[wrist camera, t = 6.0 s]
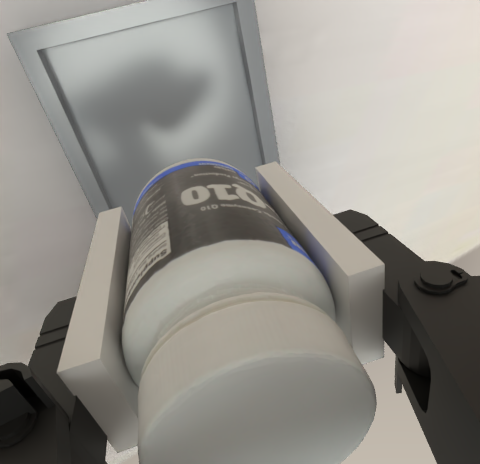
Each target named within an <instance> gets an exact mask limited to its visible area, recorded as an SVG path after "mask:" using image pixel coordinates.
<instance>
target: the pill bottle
mask: <svg viewBox="0 0 480 464" xmlns="http://www.w3.org/2000/svg"><path fill="white" fill-rule="evenodd" d="M335 321H336V314H335V305H334V300H333V297H332V293H331V291H330V288H329V286H328V284H327V282H326V280H325V278H324V276H323V275H322V273H321V271H320V270H319V269H318V267H317V266H316V265H315V264H314V262H313V261H312V260H311V258H310V257H309V256H308V254H307V253H306V252H305V250H304V249H303V247H302V246H301V245H300V244H299V243H298V241H297V240H296V239H295V237H294V236H293V235H292V233H291V232H290V231H289V230H288V228H287V227H286V225H285V224H284V223H283V221H282V220H281V219H280V217H279V216H278V214H277V213H276V212H275V210H274V209H273V208H272V206H271V205H270V204H269V203H268V201H267V200H266V198H265V197H264V196H263V194H262V193H261V191H260V190H259V189H258V187H257V186H256V185H255V184H254V183H253V181H252V180H251V179H250V178H248V177H247V176H246V175H245V174H244V173H243V172H241V171H240V170H238V169H237V168H235V167H233V166H232V165H229V164H227V163H225V162H222V161H218V160H214V159H207V158H196V159H189V160H185V161H181V162H178V163H175V164H173V165H170V166H168V167H166V168H164V169H163V170H161V171H160V172H159V173H157V174H156V175H155V176H154V177H153V178H152V179H151V180H150V181H149V182H148V183H147V184H146V186H145V187H144V188H143V190H142V191H141V193H140V195H139V197H138V199H137V201H136V204H135V208H134V212H133V218H132V230H131V240H130V249H129V263H128V274H127V284H126V295H125V305H124V316H123V324H122V349H123V354H124V359H125V363H126V366H127V368H128V371H129V373H130V375H131V377H132V379H133V380H134V382H135V383H136V385H137V386H138V387H139V391H138V456H139V464H340V463H341V462H342V461H344V460H345V459H346V458H347V457H348V456H349V455H350V454H351V453H352V452H353V451H354V450H355V449H356V448H357V447H358V446H359V444H360V443H361V442H362V440H363V439H364V437H365V435H366V434H367V432H368V430H369V428H370V426H371V424H372V422H373V419H374V416H375V411H376V394H375V389H374V386H373V384H372V381H371V380H370V378H369V376H368V374H367V372H366V371H365V369H364V367H363V365H362V364H361V362H360V361H359V359H358V357H357V356H356V354H355V352H354V351H353V349H352V347H351V346H350V344H349V342H348V340H347V338H346V336H345V334H344V332H343V331H342V330H341V328H340V327H339V326H338V325H337V324H336V323H335Z"/></svg>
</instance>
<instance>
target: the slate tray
mask: <svg viewBox="0 0 480 464" xmlns="http://www.w3.org/2000/svg"><path fill="white" fill-rule="evenodd" d="M7 36H8V38H9V40H10V42H11V44H12V46H13V48H14V50H15V52H16V54H17V56H18V58H19V60H20V62H21V64H22V66H23V68H24V70H25V72H26V75H27V77H28V79H29V81H30V83H31V85H32V87H33V89H34V91H35V93H36V95H37V97H38V99H39V101H40V103H41V105H42V107H43V109H44V111H45V113H46V116H47V118H48V120H49V122H50V124H51V126H52V128H53V130H54V132H55V134H56V136H57V138H58V140H59V142H60V144H61V146H62V148H63V150H64V152H65V155H66V157H67V159H68V161H69V163H70V165H71V167H72V169H73V171H74V173H75V175H76V177H77V179H78V181H79V183H80V185H81V187H82V189H83V191H84V193H85V196H86V198H87V200H88V202H89V204H90V206H91V208H92V210H93V212H94V214H95V216H96V218H97V219H98V215H99V213H100V212H104V211H107V210H111V209H114V208H117V207H121V206H122V208H123V211H124V213H125V215H126V218H127V220H128V222H129V224H130V227H131V229H132V218H133V212H134V208H135V204H136V201H137V199H138V197H139V195H140V193H141V191H142V190H143V188H144V187H145V186H146V184H147V183H148V182H149V181H150V180H151V179H152V178H153V177H154V176H155V175H156V174H157V173H159V172H160V171H161V170H163V169H164V168H166V167H168V166H170V165H173V164H175V163H178V162H181V161H185V160H189V159H196V158H207V159H214V160H218V161H222V162H225V163H227V164H229V165H232V166H233V167H235V168H237V169H238V170H240V171H241V172H243V173H244V174H245V175H246V176H247V177H248V178H250V179H251V180H252V181H253V183H254V184H255V185H256V186H257V187H258V189H259V184H258V179H257V174H256V169H255V167H258V166H261V165H265V164H268V163H272V162H275V161H276V162H277V163H278V164H279V165H280V161H279V154H278V148H277V142H276V135H275V129H274V123H273V116H272V110H271V104H270V97H269V91H268V85H267V79H266V72H265V66H264V60H263V53H262V47H261V41H260V34H259V28H258V22H257V15H256V9H255V3H254V0H146V1H142V2H138V3H134V4H129V5H125V6H121V7H117V8H112V9H108V10H104V11H100V12H96V13H91V14H87V15H83V16H79V17H74V18H70V19H66V20H62V21H58V22H53V23H49V24H45V25H41V26H36V27H32V28H28V29H24V30H20V31H15V32H11V33H7ZM259 190H260V189H259Z"/></svg>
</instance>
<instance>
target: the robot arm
mask: <svg viewBox="0 0 480 464" xmlns="http://www.w3.org/2000/svg"><path fill="white" fill-rule="evenodd" d="M255 169H256V174H257V179H258V184H259V189H260V191H261V193H262V194H263V196H264V197H265V198H266V200H267V201H268V203H269V204H270V205H271V206H272V208H273V209H274V210H275V212H276V213H277V214H278V216H279V217H280V219H281V220H282V221H283V223H284V224H285V225H286V227H287V228H288V230H289V231H290V232H291V233H292V235H293V236H294V237H295V239H296V240H297V241H298V243H299V244H300V245H301V246H302V247H303V249H304V250H305V252H306V253H307V254H308V256H309V257H310V258H311V260H312V261H313V262H314V264H315V265H316V266H317V267H318V269H319V270H320V271H321V273H322V275H323V276H324V278H325V280H326V282H327V284H328V286H329V288H330V291H331V293H332V297H333V300H334V305H335V314H336V321H335V323H336V324H337V325H338V326H339V327H340V328H341V330H342V331H343V332H344V334H345V336H346V338H347V340H348V342H349V344H350V346H351V347H352V349H353V351H354V352H355V354H356V356H357V357H358V359H359V361H360V362H361V364H362V365H364V364H367V363H369V362H372V361H375V360H378V359H380V358H383V357H384V341H385V342H386V343H387V344H388V345H389V347H390V348H391V349H392V351H393V352H394V353H395V354H396V361H395V388H396V393H401V392H402V384H403V387H404V389H405V391H406V394H407V396H408V398H409V400H410V403H411V405H412V407H413V410H414V412H415V414H416V416H417V419H418V421H419V423H420V426H421V428H422V430H423V432H424V435H425V437H426V439H427V441H428V444H429V446H430V448H431V451H432V453H433V455H434V457H435V460H436V462H437V464H480V276H470V275H469V274H468V273H466V272H465V271H464V270H463V269H461V268H458V267H456V266H454V265H451V264H449V263H443V262H437V261H424V260H422V259H421V258H420V257H419V256H417V255H416V254H415V253H414V252H412V251H411V250H410V249H409V248H407V247H406V246H405V245H404V244H402V243H401V242H400V241H399V240H397V239H396V238H395V237H394V236H392V235H391V234H388V232H387V231H386V230H385V229H384V228H382V227H381V226H379V225H378V224H377V223H376V222H375V221H374V220H372V219H371V218H370V217H369V216H367V215H365V214H362V213H359V212H356V211H353V210H347V211H344V212H341V213H338V214H335V215H332V214H331V213H330V212H329V211H328V210H327V209H326V208H325V207H324V206H323V205H322V204H321V203H319V202H318V201H317V200H316V199H315V198H314V197H313V196H312V195H311V194H310V193H309V192H308V191H307V190H306V189H305V188H304V187H302V186H301V185H300V184H299V183H298V182H297V181H296V180H295V179H294V178H293V177H292V176H291V175H290V174H289V173H288V172H287V171H285V170H284V169H283V168H282V167H281V166H280V165H279V164H278V163H277V162H276V161H275V162H272V163H268V164H265V165H261V166H258V167H255ZM131 230H132V229H131V227H130V224H129V222H128V220H127V218H126V215H125V213H124V211H123V208H122V206H121V207H117V208H114V209H111V210H107V211H104V212H100V213H99V215H98V219H97V223H96V227H95V230H94V234H93V238H92V242H91V245H90V249H89V253H88V257H87V260H86V264H85V268H84V272H83V275H82V279H81V283H80V287H79V291H78V294H77V296H76V297H73V298H70V299H67V300H63V301H60V302H58V303H57V304H56V305H55V307H54V308H53V309H52V310H51V312H50V313H49V314H48V315H47V317H46V318H45V320H44V323H43V326H42V329H41V331H40V337H38V340H37V343H36V345H35V349H36V350H34V351H33V354H32V356H31V359H30V362H29V365H28V366H26V365H25V364H23V363H8V364H5V365H2V366H0V464H107V462H106V461H105V456H106V445H107V440H108V441H109V443H110V444H111V445H112V447H113V448H114V449H115V451H116V452H117V453H119V452H122V451H124V450H127V449H130V448H133V447H135V446H138V391H139V387H138V386H137V385H136V383H135V382H134V380H133V379H132V377H131V375H130V373H129V371H128V368H127V366H126V363H125V359H124V354H123V349H122V324H123V316H124V305H125V295H126V284H127V274H128V263H129V249H130V240H131Z"/></svg>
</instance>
